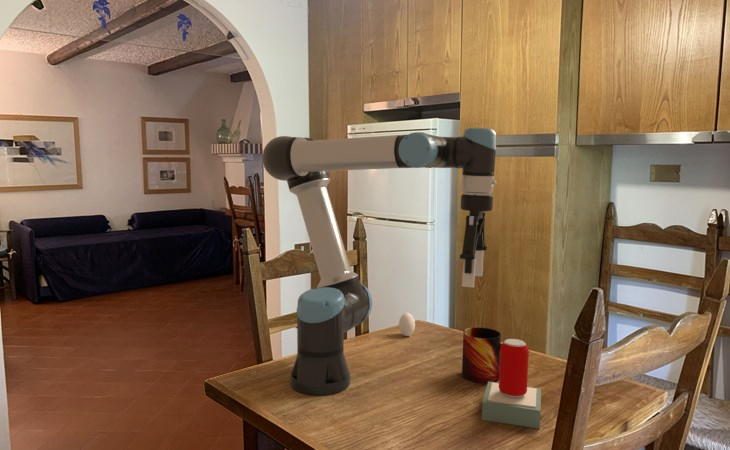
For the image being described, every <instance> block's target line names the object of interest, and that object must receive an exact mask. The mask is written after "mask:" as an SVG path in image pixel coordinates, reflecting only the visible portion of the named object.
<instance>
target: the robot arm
mask: <svg viewBox="0 0 730 450" xmlns="http://www.w3.org/2000/svg"><path fill="white" fill-rule="evenodd" d="M496 155H497V133H496V131H495V130H494V129H492V128H488V127H487V128H484V127H473V128H472V127H471V128H466V129H465V130H464V133H463V136H456V137H454V136H438V135H432V134H429V133H425V132H421V131H420V132H419V131H417V132H415V131H414V132H412V133H411V132H410V133H409V134H407V133H406V134H393V135H378V136H377V135H376V136H362V137H350V138H349V137H346V138H331V139H317V140H316V139H313V138H311V137H300V136H299V137H296V136H287V135H282V136H277V137H274V138H272V139H271V140H269V141H268V142H267V143H266V145H265V147H264V149H263V151H262V159H261V160H262V165H263V167H264V169H265V171H266V172H267V174H269V175H270V177H272V178H274V179H276V180H278V181H286V183H287V187H288V191H289V192H290V193H292V194H294V195H295V197H297V200H298V204H299V208H300V212H301V215H302V219H303V222H304V224H305V228H306V232H307V236H308V239H309V242H310V247H311V249H312V253H313V256H314V260H315V263H316V266H317V269H318V273H319V277H320V281H319V282H318V285H317V286H316V287H317V288H311V289H309V290H306V291H304V292H302V293H301V294H300V295H299V296H298V298H297V307H296V315H297V316H296V322H297V323H296V329H297V330H296V331H297V332H296V333H297V334H296V335H297V336H296V337H297V341H296V343H297V345H296V346H297V350H296V351H297V354H296V358H295V361H294V363H293V366H292V370H291V373H290V381H289V384H290V387H291V388H292V389H293V390H295V391H296V392H298V393H302V394H305V395H313V396H314V395H315V396H322V395H323V396H325V395H331V394H336V393H339V392H343V391H345V390H346V389H347V388H349V387H350V385H351V372H350V370H349V365H348V363H347V359H346V357H345V353H344V351H345V349H344V348H345V347H344V344H345V343H344V340H345V339H344V338H345V336H344V333H346V332H348V331H350V330H351V329H353V328H356V327H358V326H359V325H361V324H362V323H364V321H365V320H366V319H367V318H368V317H369V316H370V314H371V313H372V307H373V298H372V294H371V292H370V290H369V289H368V287H367V286H365V285H363V283H361V281H360V277H359V274H357V273H356V272H354V271H353V270H352V269H351V266H350V262H349V259H348V256H347V255H348V254H347V252H346V248H345V245H344V241H343V238H342V235H341V232H340V228H339V225H338V221H337V219H336V215H335V211H334V208H333V205H332V201H331V197H330V195H329V194H330V193H329V191H328V185H329V184H330V182H331V178H330V174H329V172H335V171H336V172H337V171H340V172H341V171H360V170H361V171H363V170H381V169H382V170H383V169H384V170H385V169H412V168H413V169H419V168H420V169H421V168H425V169H426V168H427V169H432V168H433V169H434V168H435V169H437V168H438V169H461V170H462V175H461V186H460V187H461V188H460V191H461V192H462V193H463V194H462V195H461V196H460V209H461V210H463V211H469V213H468V214H469V215H466V217H465V227H464V234H463V235H464V237H463V244H462V245H463V246H462V253H461V254H459V259H461V260H462V277H461V278H462V279H461V287H465V288H475V277H483V271H484V269H483V268H484V253H485V251H487V250H488V247H487V246H486V232H485V230H486V227H485V226H486V225H485V223H486V218H485V216H486V212H491V211H492V210H493V208H494V207H493V206H494V196H493V195H491V194H493V193H494V185H497V183H498V182H497V180H496V179H495V170H496V169H495V167H496ZM494 179H495V180H494Z"/></svg>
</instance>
